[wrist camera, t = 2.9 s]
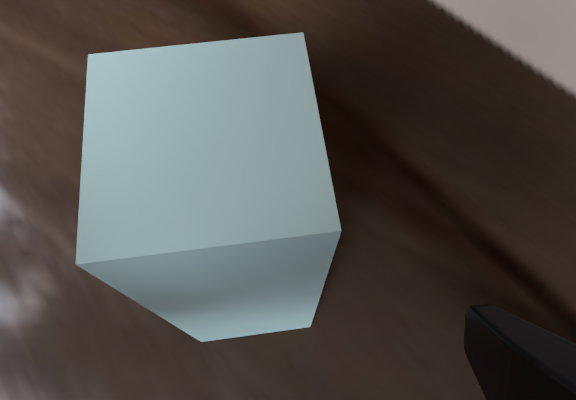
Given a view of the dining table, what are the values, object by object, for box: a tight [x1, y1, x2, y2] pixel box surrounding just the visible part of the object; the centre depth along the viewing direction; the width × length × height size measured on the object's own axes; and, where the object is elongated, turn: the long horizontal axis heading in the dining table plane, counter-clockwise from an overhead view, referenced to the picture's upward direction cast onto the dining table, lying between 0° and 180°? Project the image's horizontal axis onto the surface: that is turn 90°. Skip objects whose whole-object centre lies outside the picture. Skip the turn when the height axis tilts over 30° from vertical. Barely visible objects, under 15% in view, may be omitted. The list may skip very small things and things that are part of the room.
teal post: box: [76, 33, 341, 342], centre depth 14 cm, size 5×5×12 cm
